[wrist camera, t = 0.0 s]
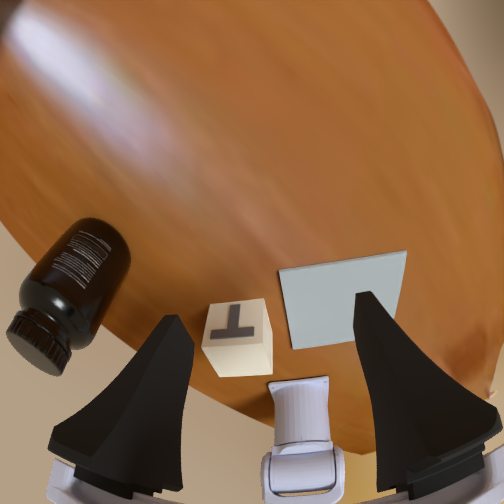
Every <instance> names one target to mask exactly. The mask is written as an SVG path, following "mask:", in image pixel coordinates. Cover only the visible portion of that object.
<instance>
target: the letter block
mask: <svg viewBox="0 0 504 504" xmlns="http://www.w3.org/2000/svg"><path fill="white" fill-rule="evenodd" d="M201 348H202V350H203V351H204V353H205V355H206V356H207V358H208V360H209V361H210V363H211V364H212V366H213V368H214V369H215V371H216V372H217V374H218V376H219V377H233V376H253V375H267V374H273V350H272V329H271V325H270V321H269V317H268V313H267V310H266V306H265V302H264V298H262V299H254V300H245V301H236V302H227V303H217V304H210V307H209V312H208V316H207V321H206V326H205V331H204V335H203V340H202V345H201Z"/></svg>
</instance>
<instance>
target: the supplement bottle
mask: <svg viewBox="0 0 504 504" xmlns="http://www.w3.org/2000/svg"><path fill="white" fill-rule="evenodd" d="M130 263H131V257H130V252H129V248H128V246H127V244H126V242H125V240H124V238H123V237H122V236H121V234H120V233H119V232H118V231H117V230H116V229H115V228H114V227H112V226H111V225H110V224H108V223H106V222H104V221H102V220H100V219H96V218H83V219H80V220H78V221H76V222H75V223H74V224H73V225H72V226H71V227H70V228H69V229H68V230H67V231H66V232H65V233H64V234H63V235H62V236H61V237H60V238H59V239H58V240H57V241H56V242H55V244H54V245H53V246H52V247H51V248H50V249H49V250H48V251H47V253H46V254H45V255H44V256H43V257H42V258H41V260H40V261H39V262H38V263H37V264H36V266H35V267H34V268H33V269H32V271H31V272H30V273H29V274H28V276H27V277H26V278H25V280H24V281H23V283H22V284H21V287H20V291H19V302H20V306H21V309H22V311H18V312H17V313H16V315H15V316H14V319H13V321H12V323H11V324H10V326H9V327H8V329H7V331H6V335H7V338H8V340H9V342H10V343H11V345H12V346H13V347H14V348H15V349H16V350H17V352H18V353H20V355H22V356H23V357H24V358H25V359H26V360H27V361H28V362H30V363H31V364H32V365H34V366H35V367H37V368H39V369H40V370H42V371H44V372H45V373H48V374H50V375H53V376H60V375H62V373H63V371H64V369H65V366H66V364H67V362H68V361H69V360H70V358H71V355H72V352H71V350H79V349H83V348H85V347H86V346H88V345H89V344H90V343H91V342H92V340H93V339H94V337H95V335H96V333H97V331H98V328H99V326H100V325H101V323H102V321H103V319H104V317H105V315H106V313H107V311H108V309H109V307H110V305H111V303H112V301H113V299H114V297H115V295H116V293H117V292H118V290H119V288H120V286H121V284H122V282H123V281H124V279H125V277H126V275H127V273H128V271H129V268H130Z"/></svg>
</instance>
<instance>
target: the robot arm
mask: <svg viewBox="0 0 504 504" xmlns="http://www.w3.org/2000/svg"><path fill="white" fill-rule="evenodd" d="M353 331H354V337H355V342H356V347H357V351H358V355H359V358H360V362H361V365H362V369H363V372H364V376H365V379H366V383H367V386H368V390H369V394H370V398H371V403H372V410H373V418H374V427H375V438H376V454H377V455H376V456H377V492H382V491H386V490H390V489H394V488H396V494H393V495H389V496H386V497H382V498H378V499H374V500H370V501H365V502H361V503H356V504H499V503H501V502H502V501H503V500H504V444H503V445H501V446H499V447H498V448H496V449H494V450H493V451H491V452H489V453H487V454H485V455H482V451H484V450H485V445H484V442H485V441H487V440H489V439H490V438H492V437H493V436H495V435H496V434H498V433H499V432H501V431H502V429H503V426H502V422H501V418H500V415H499V413H498V410H497V408H496V407H494V406H493V405H491V404H489V403H487V402H486V401H484V400H482V399H481V398H479V397H478V396H476V395H474V394H473V393H472V392H470V391H469V390H467V389H466V388H464V387H463V386H462V385H460V384H459V383H458V382H457V381H455V380H454V379H453V378H451V377H450V376H449V375H448V374H446V373H445V372H444V371H443V370H442V369H441V368H439V367H438V366H437V365H436V364H435V363H434V362H433V361H432V360H431V359H430V358H428V357H427V356H426V355H425V354H424V353H423V352H422V351H421V350H420V349H419V347H418V346H417V345H416V344H415V343H414V342H413V341H412V340H411V339H410V338H409V337H408V336H407V334H406V333H405V332H404V331H403V330H402V329H401V328H400V326H399V325H398V324H397V323H396V322H395V321H394V319H393V318H392V317H391V316H390V314H389V313H388V312H387V311H386V309H385V308H384V307H383V306H382V304H381V303H380V302H379V300H378V299H377V298H376V296H375V295H374V294H373V292H371V291H365V292H360V293H355V306H354V318H353ZM193 356H194V342H193V340H192V339H191V337H190V335H189V334H188V332H187V330H186V329H185V327H184V325H183V323H182V322H181V320H180V318H179V316H178V315H165V316H164V317H163V318H162V320H161V321H160V322H159V324H158V325H157V326H156V328H155V329H154V330H153V332H152V333H151V334H150V336H149V337H148V338H147V340H146V341H145V342H144V344H143V345H142V346H141V348H140V349H139V350H138V352H137V353H136V354H135V355H134V357H133V358H132V359H131V360H130V362H129V363H128V364H127V365H126V367H125V368H124V369H123V370H122V371H121V372H120V374H119V375H118V376H117V377H116V378H115V379H114V380H113V381H112V382H111V383H110V384H109V385H108V387H106V388H105V389H104V390H103V391H102V392H101V393H100V394H99V395H98V396H97V397H95V398H94V399H93V400H92V401H91V402H90V403H89V404H88V405H86V406H85V407H84V408H82V409H81V410H80V411H78V412H77V413H76V414H74V415H73V416H71V417H70V418H68V419H66V420H65V421H63V422H61V423H60V424H58V425H56V426H54V429H53V432H52V434H51V438H50V441H49V445H48V450H49V451H51V452H52V453H54V454H56V455H58V456H60V457H62V458H64V459H66V460H68V461H70V462H72V463H74V464H76V467H75V468H74V467H72V466H70V465H68V464H66V463H64V462H62V461H60V460H58V459H54V463H53V466H52V470H51V474H50V478H49V483H48V487H47V491H46V497H47V498H48V499H50V500H51V501H52V502H54V503H55V504H182V503H178V502H173V501H168V500H164V499H160V498H156V497H153V493H154V492H157V493H162V489H166V490H170V491H175V492H178V491H180V490H181V489H182V488H183V484H182V473H181V429H182V416H183V409H184V403H185V399H186V394H187V390H188V385H189V380H190V376H191V371H192V366H193ZM268 387H269V390H270V392H271V395H272V397H273V400H274V402H275V444H274V447H272V452H267V454H266V455H265V456H264V457H263V458H262V462H261V473H260V474H261V475H260V476H261V486H262V499H263V500H264V503H265V504H335V503H337V502H338V501H339V500H340V499H341V498H342V495H343V494H344V481H345V465H344V456H343V451H342V449H341V448H339V447H338V446H333V444H332V441H331V439H330V428H329V417H328V408H327V403H328V388H329V377H328V376H323V377H316V378H309V379H301V380H292V381H281V382H271V383H269V384H268ZM328 489H330V490H329V491H328V492H326V493H322V494H315V495H305V496H291V497H286V496H281V495H279V493H299V492H311V491H319V490H328Z"/></svg>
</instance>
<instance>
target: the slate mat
mask: <svg viewBox="0 0 504 504" xmlns="http://www.w3.org/2000/svg"><path fill="white" fill-rule="evenodd" d="M406 256H407V252H406V250H404V251H398V252H392V253H386V254H380V255H374V256H368V257H362V258H355V259H349V260H342V261H336V262H329V263H323V264H316V265H309V266H303V267H296V268H289V269H282V270H279V274H280V280H281V285H282V290H283V296H284V301H285V307H286V312H287V318H288V323H289V329H290V335H291V340H292V346H293V349H301V348H309V347H316V346H323V345H330V344H336V343H342V342H348V341H353V340H355V337H354V331H353V318H354V306H355V293H360V292H365V291H371V292H373V294H374V295H375V296H376V298H377V299H378V300H379V302H380V303H381V304H382V306H383V307H384V308H385V309H386V311H387V312H388V313H389V314H390V316H391V317H392V318H393V319H394V316H395V312H396V308H397V303H398V299H399V294H400V289H401V284H402V279H403V274H404V268H405V262H406Z"/></svg>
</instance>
